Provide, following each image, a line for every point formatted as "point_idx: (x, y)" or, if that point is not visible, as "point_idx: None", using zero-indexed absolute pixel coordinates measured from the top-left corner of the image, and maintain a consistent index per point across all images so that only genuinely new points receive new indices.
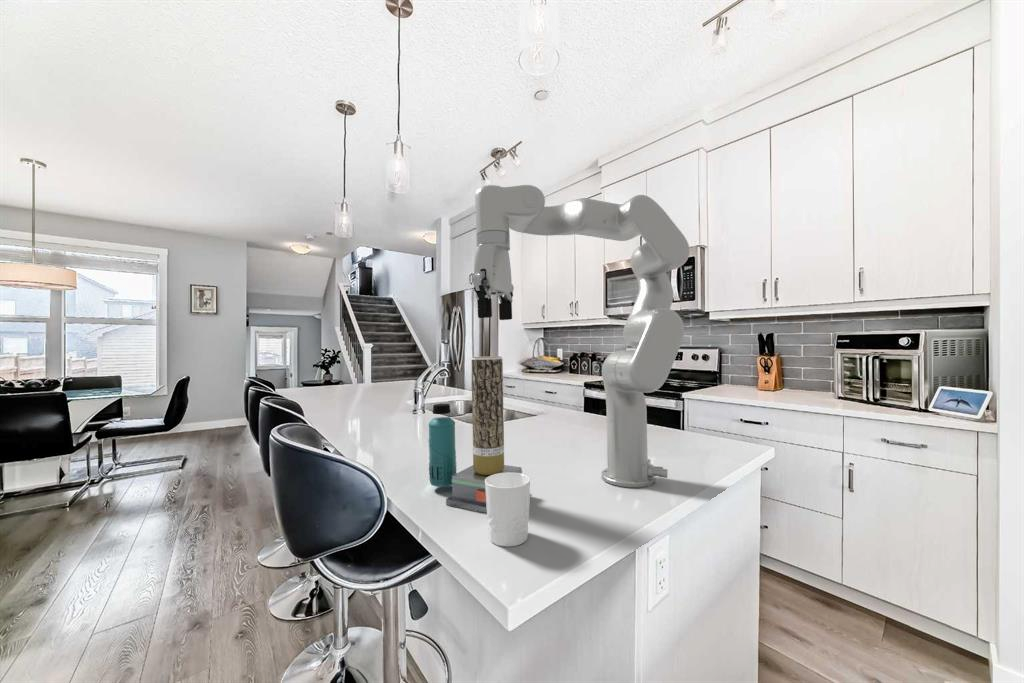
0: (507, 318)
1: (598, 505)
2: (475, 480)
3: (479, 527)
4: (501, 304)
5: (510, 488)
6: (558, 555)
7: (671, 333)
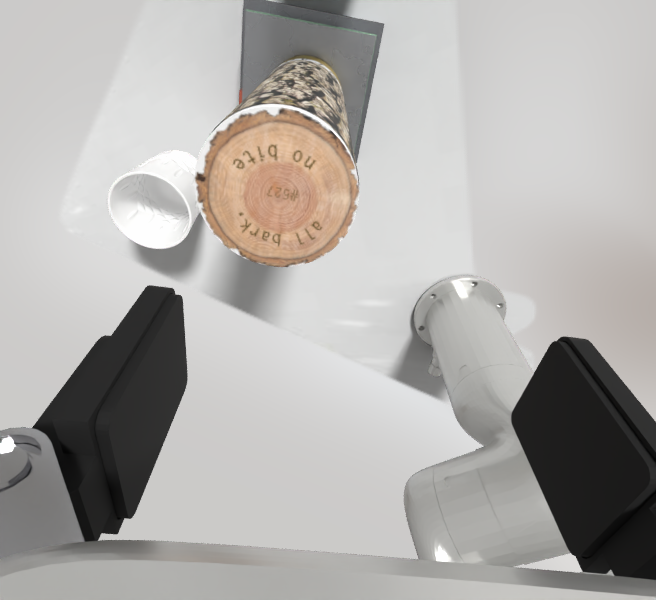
0: (521, 401)
1: (332, 279)
2: (243, 88)
3: (188, 120)
4: (626, 489)
5: (118, 228)
6: (169, 251)
7: None
